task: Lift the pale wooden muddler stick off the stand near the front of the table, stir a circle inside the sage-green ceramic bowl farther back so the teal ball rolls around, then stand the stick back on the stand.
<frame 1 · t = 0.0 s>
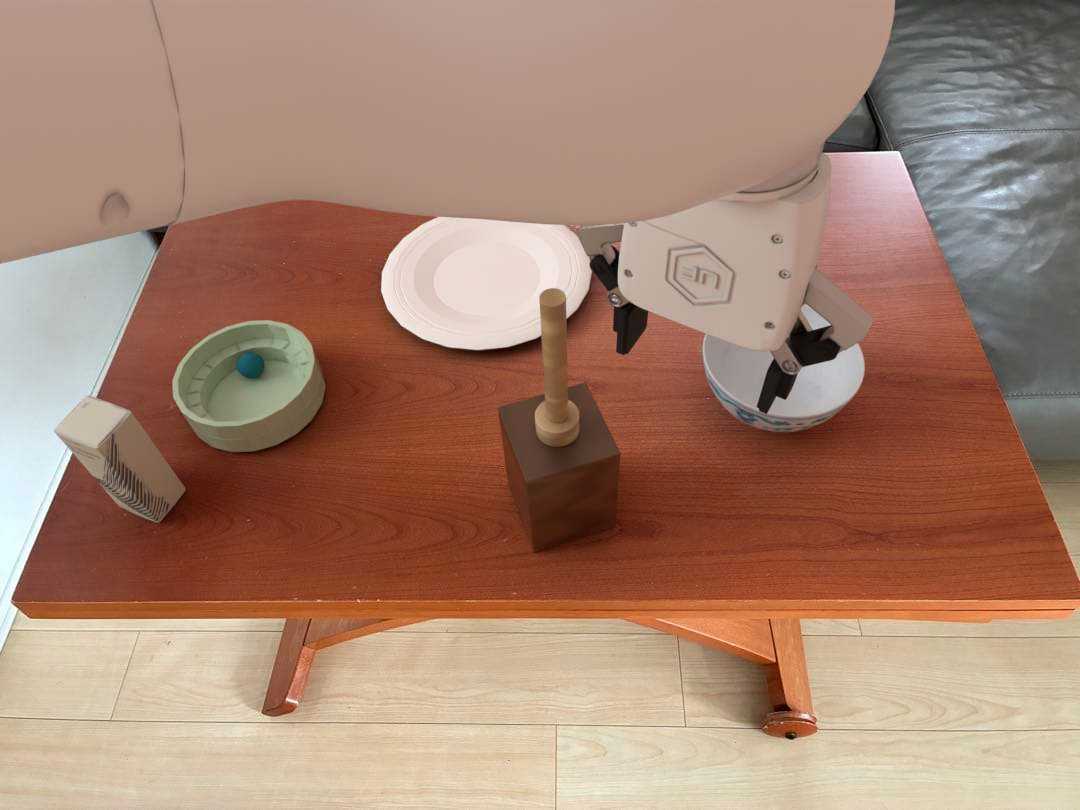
hand: (698, 367, 49), 25 cm above the table, tool pointing down, fingers open, 9 cm apart
stick: (557, 429, 63), point 12 cm above the table, touching stand
ball: (250, 365, 83), point 2 cm above the table, touching bowl
plate: (487, 283, 92), on the table
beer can: (679, 302, 89), on the table
bowl: (260, 400, 82), on the table
stand: (560, 504, 73), on the table
box: (156, 499, 75), on the table
chinaware: (766, 405, 79), on the table
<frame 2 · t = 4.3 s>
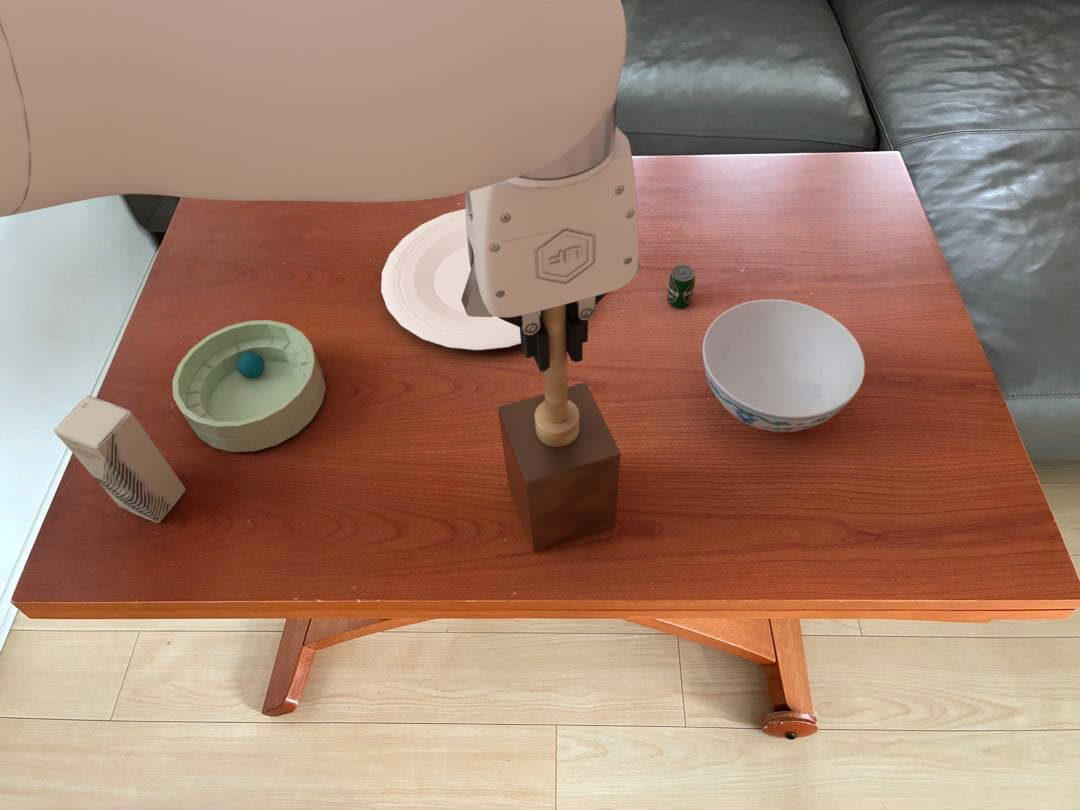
hand: (554, 351, 56), 22 cm above the table, tool pointing down, fingers closed on stick
stick: (557, 429, 63), point 12 cm above the table, touching gripper, stand
everything else where it was.
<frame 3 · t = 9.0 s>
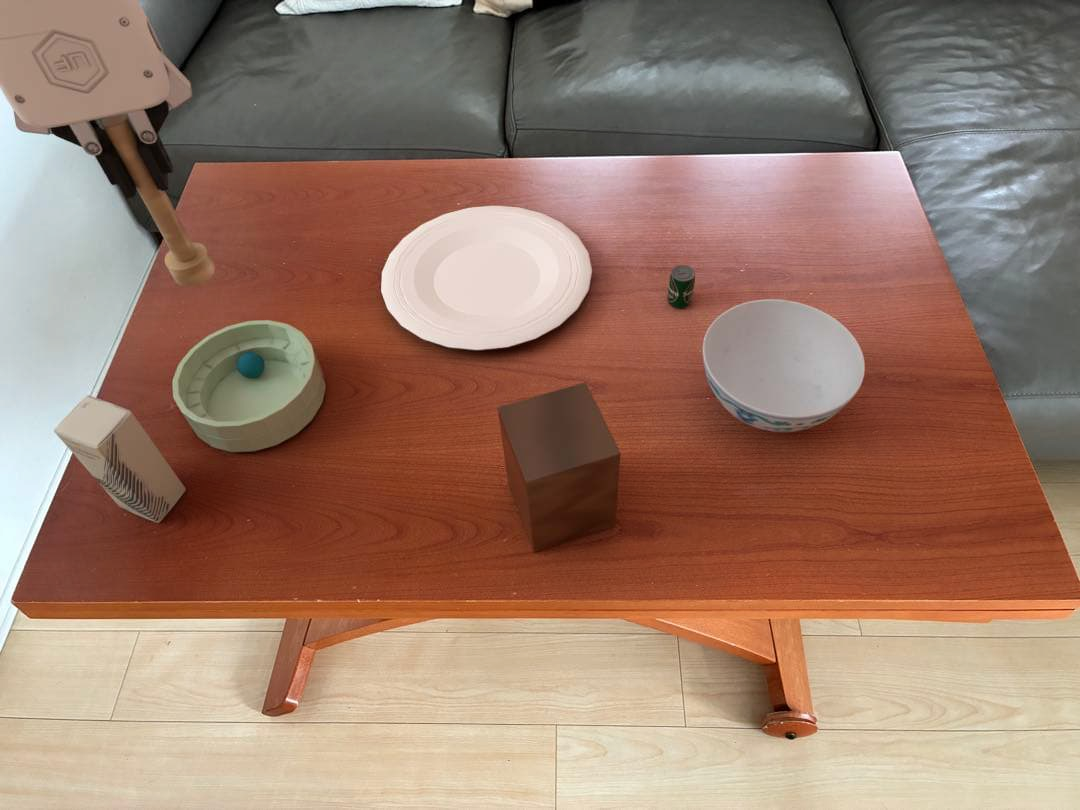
hand: (147, 182, 61), 27 cm above the table, tool pointing down, fingers closed on stick
stick: (194, 272, 68), point 18 cm above the table, touching gripper
everything else where it was.
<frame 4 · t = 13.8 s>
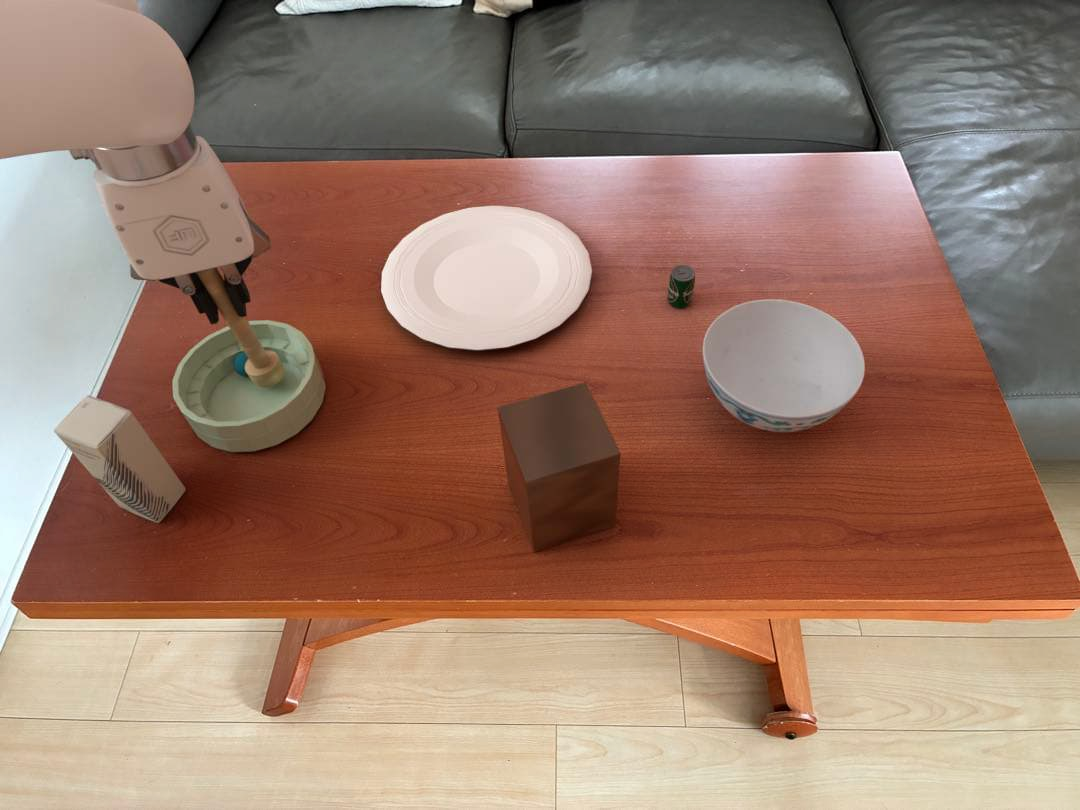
hand: (228, 309, 74), 11 cm above the table, tool pointing down, fingers closed on stick
stick: (269, 375, 82), point 2 cm above the table, tilted 5°, touching ball, gripper
ball: (247, 364, 83), point 2 cm above the table, tilted 13°, touching bowl, stick
everything else where it was.
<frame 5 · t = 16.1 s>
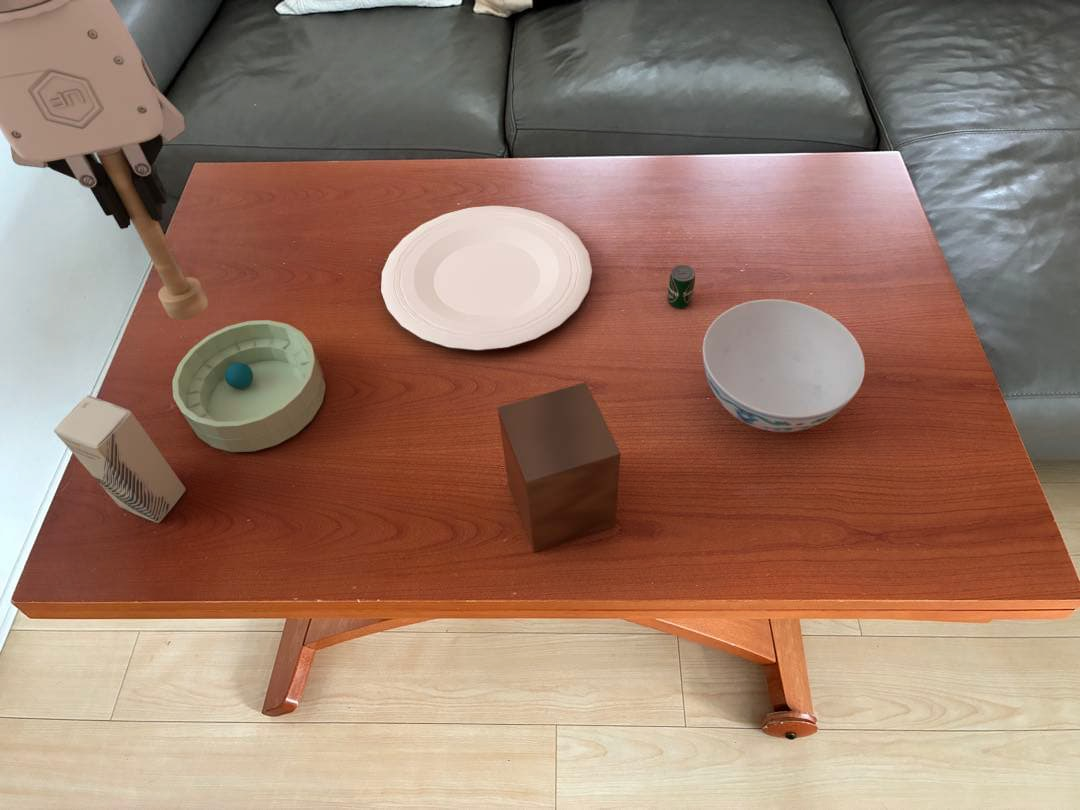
hand: (141, 213, 62), 25 cm above the table, tool pointing down, fingers closed on stick
stick: (188, 307, 68), point 16 cm above the table, tilted 7°, touching gripper
ball: (239, 375, 82), point 2 cm above the table, tilted 32°, touching bowl
everything else where it was.
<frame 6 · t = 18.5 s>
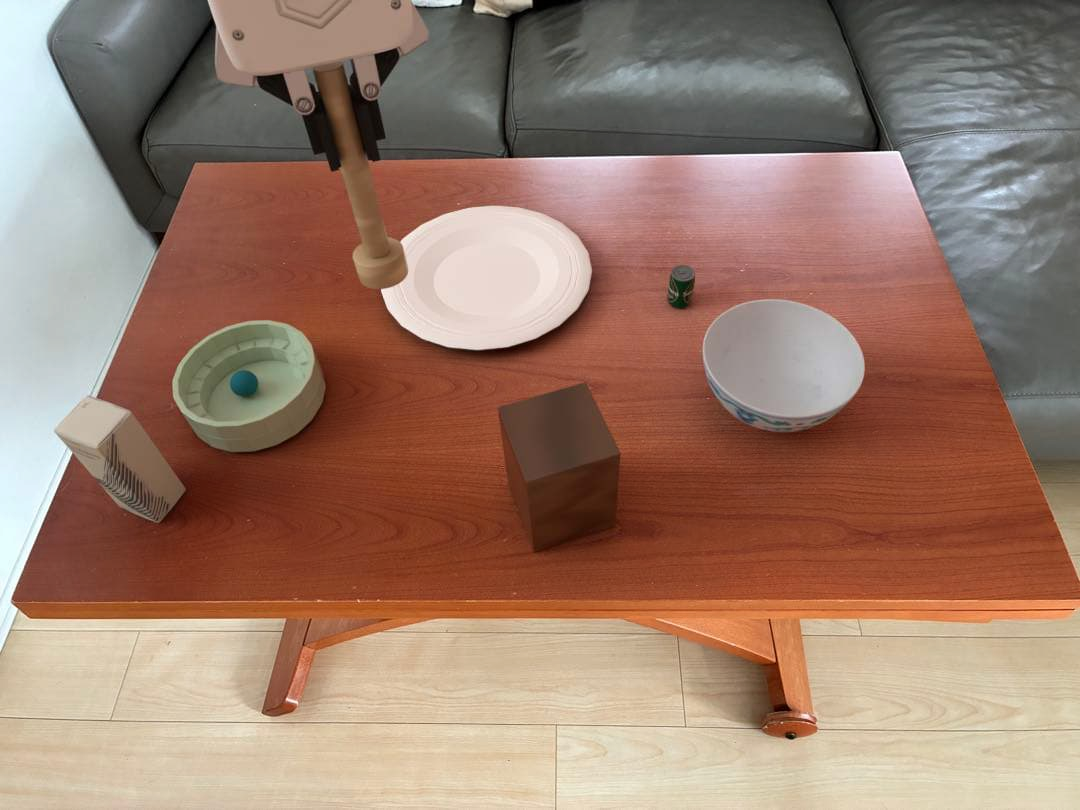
hand: (351, 152, 49), 35 cm above the table, tool pointing down, fingers closed on stick
stick: (383, 274, 56), point 26 cm above the table, tilted 6°, touching gripper
ball: (244, 383, 81), point 2 cm above the table, tilted 89°, touching bowl
everything else where it was.
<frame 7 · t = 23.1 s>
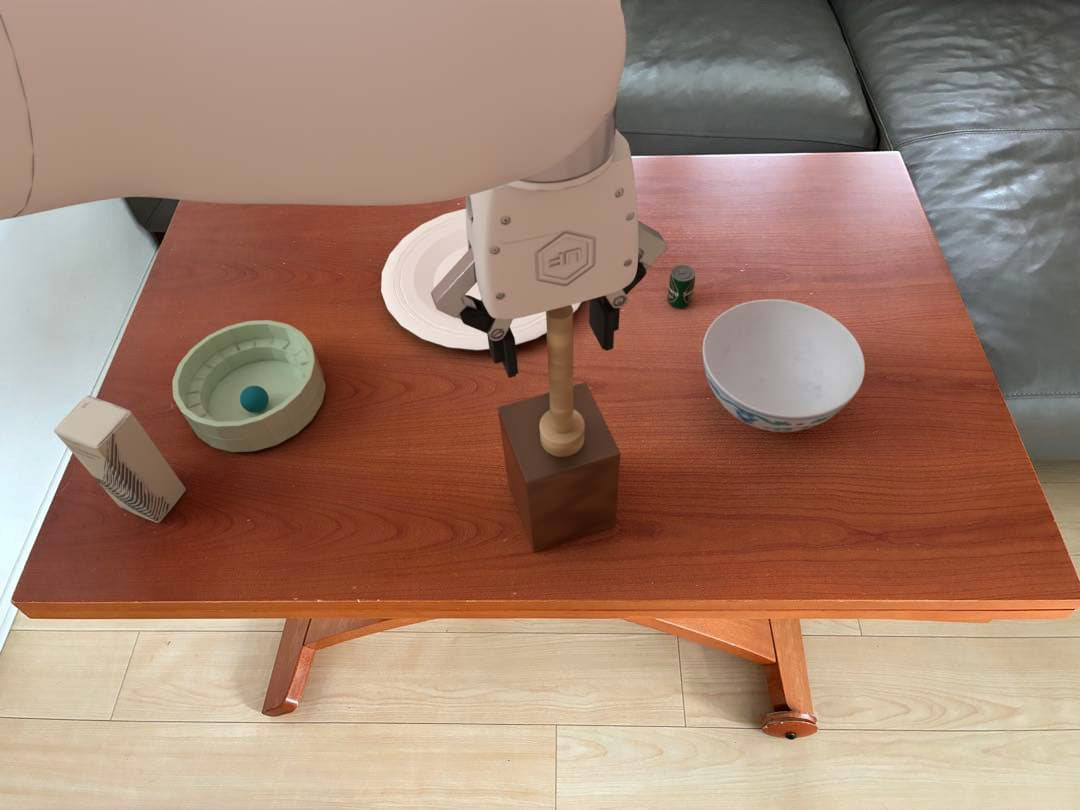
hand: (554, 348, 55), 22 cm above the table, tool pointing down, fingers open, 6 cm apart
stick: (562, 438, 63), point 12 cm above the table, touching stand
ball: (254, 399, 80), point 2 cm above the table, tilted 161°, touching bowl
everything else where it was.
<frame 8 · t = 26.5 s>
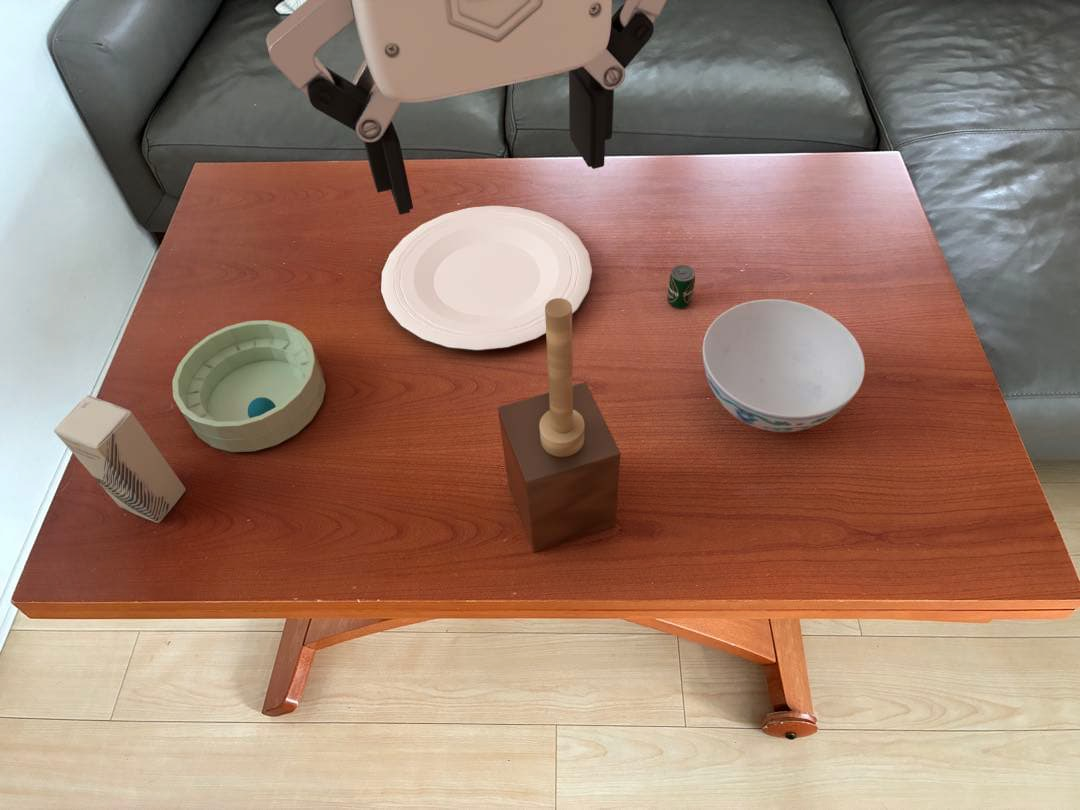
hand: (495, 174, 38), 40 cm above the table, tool pointing down, fingers open, 9 cm apart
ball: (262, 410, 79), point 2 cm above the table, tilted 80°, touching bowl
everything else where it was.
at the end: ball moved 6.9 cm from its start; ball inside the target area in the bowl (3.5 cm from its centre), point 2.0 cm above the bowl's base; stick 1.1 cm off-centre on the stand, point 12.0 cm above the stand's base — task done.
